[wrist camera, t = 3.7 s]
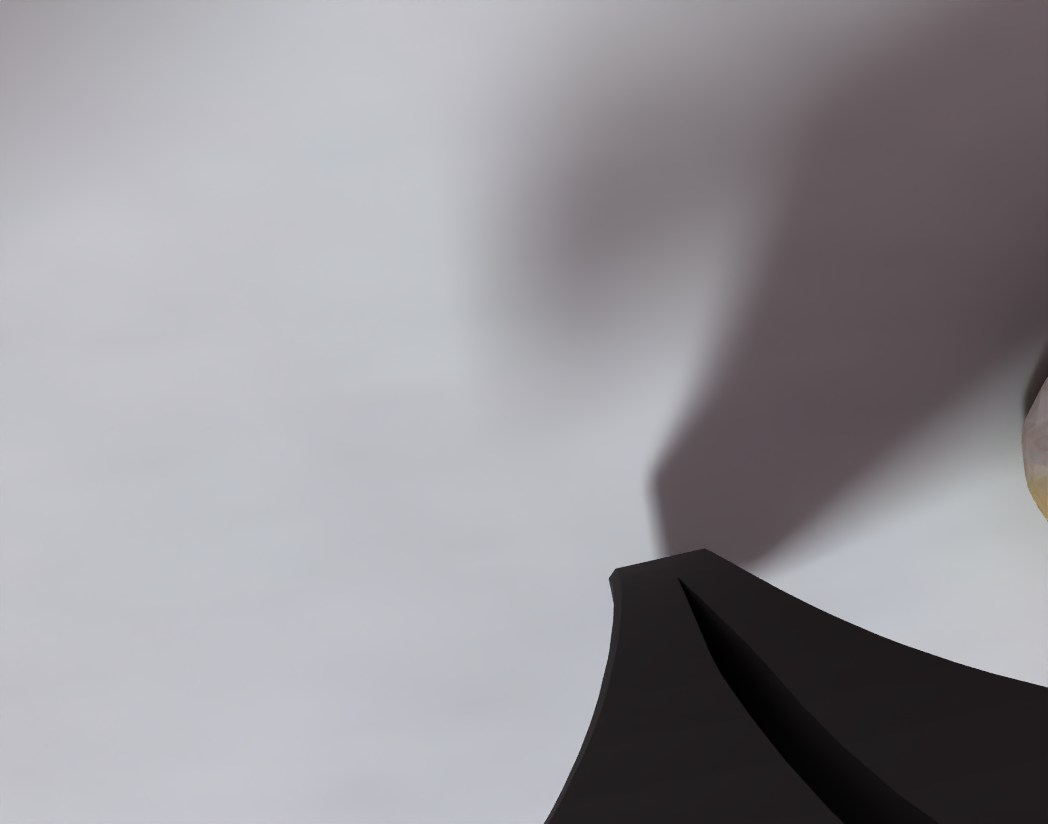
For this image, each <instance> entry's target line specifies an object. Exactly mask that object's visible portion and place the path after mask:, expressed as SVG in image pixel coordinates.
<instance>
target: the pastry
mask: <svg viewBox="0 0 1048 824" xmlns="http://www.w3.org/2000/svg"><path fill="white" fill-rule="evenodd" d="M1022 451H1023V461H1024V468H1025V475H1026V480H1027V485H1028V488H1029V491H1030V493H1031V495H1032V497H1033V499H1034V501H1035V502H1036V504H1037V506H1038V508H1039V509H1040V511H1041V512H1042V514H1043V515H1044V516H1045V518H1046V519H1047V521H1048V377H1047V378H1046V380H1045V382H1044V384H1043V386H1042V387H1041V389H1040V391H1039V393H1038V395H1037V397H1036V399H1035V401H1034V403H1033V405H1032V407H1031V409H1030V411H1029V413H1028V415H1027V417H1026V420H1025V422H1024V424H1023V429H1022Z"/></svg>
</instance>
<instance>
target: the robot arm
mask: <svg viewBox="0 0 1048 824" xmlns="http://www.w3.org/2000/svg"><path fill="white" fill-rule="evenodd" d="M609 582H610V587H611V592H612V597H613V602H614V616H613V627H612V634H611V642H610V650H609V655H608V661H607V665H606V669H605V673H604V677H603V681H602V685H601V690H600V694H599V698H598V701H597V704H596V707H595V711H594V714H593V717H592V720H591V723H590V726H589V728H588V731H587V734H586V736H585V739H584V742H583V744H582V747H581V749H580V752H579V754H578V757H577V759H576V761H575V763H574V765H573V767H572V770H571V772H570V774H569V776H568V778H567V781H566V783H565V785H564V787H563V789H562V791H561V793H560V795H559V797H558V799H557V801H556V803H555V805H554V807H553V809H552V811H551V812H550V814H549V816H548V818H547V819H546V821H545V823H544V824H1048V688H1047V687H1044V686H1040V685H1036V684H1032V683H1028V682H1024V681H1020V680H1016V679H1012V678H1008V677H1004V676H1000V675H996V674H993V673H989V672H986V671H982V670H979V669H976V668H972V667H969V666H965V665H962V664H959V663H956V662H953V661H950V660H947V659H944V658H941V657H938V656H935V655H932V654H929V653H926V652H923V651H920V650H917V649H915V648H912V647H909V646H906V645H903V644H900V643H898V642H895V641H892V640H890V639H887V638H885V637H882V636H879V635H877V634H874V633H872V632H870V631H867V630H865V629H863V628H861V627H858V626H856V625H854V624H851V623H849V622H847V621H844V620H842V619H840V618H837V617H835V616H833V615H831V614H829V613H827V612H824V611H822V610H820V609H818V608H816V607H814V606H812V605H810V604H808V603H806V602H804V601H802V600H800V599H798V598H796V597H794V596H792V595H790V594H788V593H786V592H784V591H782V590H780V589H778V588H776V587H775V586H773V585H771V584H769V583H767V582H765V581H763V580H762V579H760V578H758V577H756V576H754V575H752V574H751V573H749V572H747V571H745V570H743V569H742V568H740V567H738V566H736V565H734V564H733V563H731V562H729V561H727V560H726V559H724V558H722V557H720V556H718V555H716V554H715V553H713V552H711V551H709V550H707V549H701V550H696V551H692V552H687V553H683V554H679V555H674V556H670V557H665V558H661V559H657V560H652V561H648V562H643V563H639V564H635V565H630V566H626V567H621V568H617V569H615V570H614V572H613V573H612V575H611V576H610V577H609Z"/></svg>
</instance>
